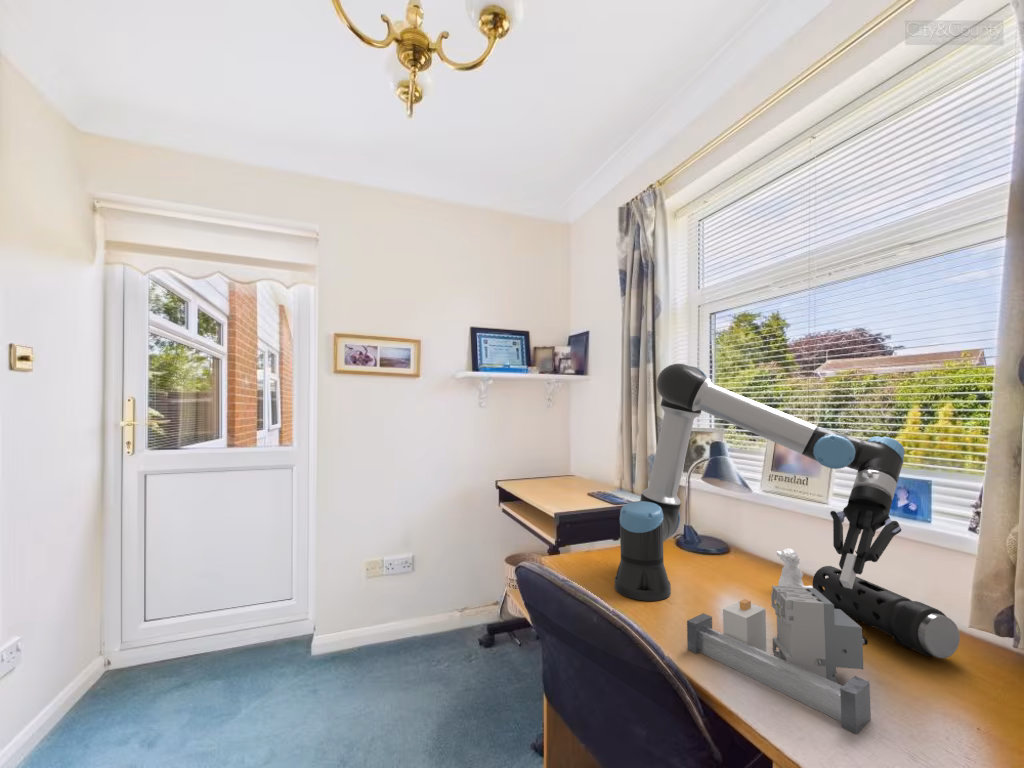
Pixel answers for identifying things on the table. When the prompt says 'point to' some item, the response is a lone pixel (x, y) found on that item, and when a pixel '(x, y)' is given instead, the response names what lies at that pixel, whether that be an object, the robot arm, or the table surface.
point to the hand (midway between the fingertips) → (845, 584)
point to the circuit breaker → (815, 632)
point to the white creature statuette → (790, 569)
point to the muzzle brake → (891, 613)
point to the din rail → (784, 675)
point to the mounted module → (746, 623)
